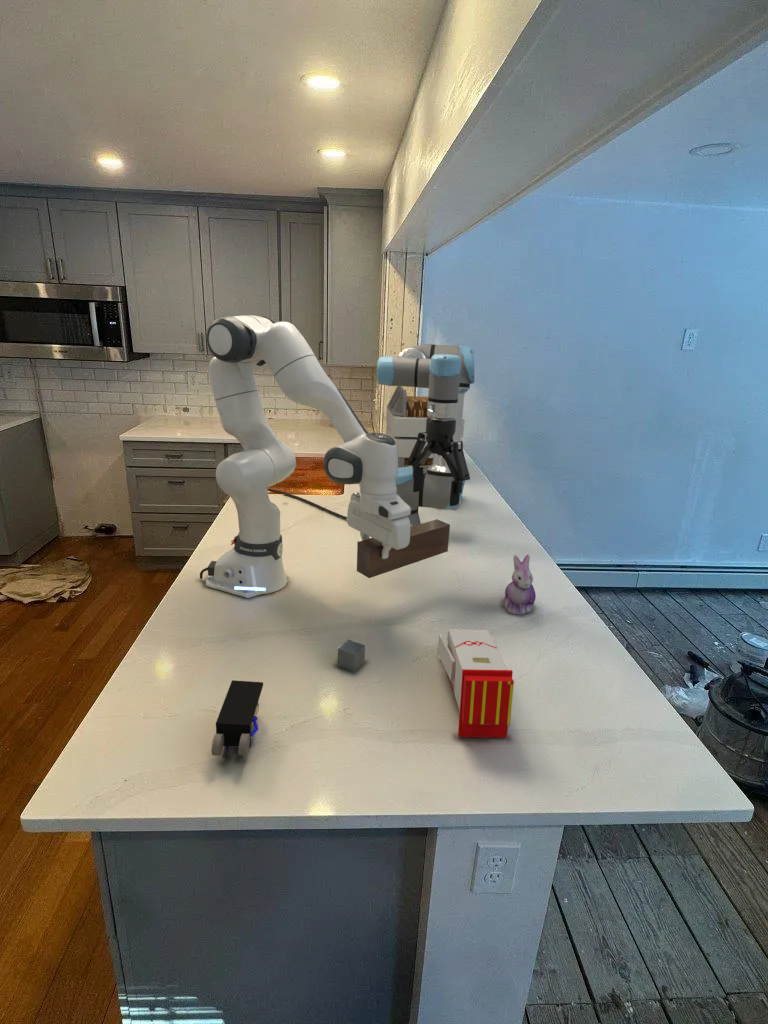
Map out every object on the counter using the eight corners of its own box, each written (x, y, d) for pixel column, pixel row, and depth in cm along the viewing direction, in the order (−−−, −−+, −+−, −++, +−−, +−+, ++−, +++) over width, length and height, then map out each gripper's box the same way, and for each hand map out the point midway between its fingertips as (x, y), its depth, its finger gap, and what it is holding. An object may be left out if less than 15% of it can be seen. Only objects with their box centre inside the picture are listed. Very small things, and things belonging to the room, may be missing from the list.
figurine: (518, 619, 147) (525, 567, 142) (493, 601, 156) (499, 551, 151) (545, 612, 151) (553, 561, 146) (520, 595, 160) (527, 546, 155)
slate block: (337, 665, 125) (337, 648, 124) (348, 656, 129) (348, 639, 127) (354, 672, 123) (354, 654, 122) (364, 662, 127) (365, 645, 125)
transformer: (382, 463, 289) (386, 382, 275) (445, 464, 293) (451, 384, 279) (390, 482, 257) (394, 392, 243) (460, 483, 261) (468, 394, 247)
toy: (488, 613, 130) (523, 677, 101) (484, 667, 133) (517, 744, 104) (435, 612, 130) (455, 676, 101) (432, 666, 133) (451, 743, 103)
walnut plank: (356, 571, 142) (357, 541, 140) (434, 545, 160) (436, 519, 157) (369, 578, 139) (370, 548, 136) (447, 551, 156) (450, 524, 154)
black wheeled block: (251, 773, 97) (266, 707, 110) (248, 742, 94) (264, 678, 107) (211, 773, 97) (231, 707, 110) (207, 741, 93) (228, 677, 107)
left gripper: (341, 492, 142) (340, 542, 147) (395, 515, 128) (392, 571, 132) (361, 487, 146) (359, 537, 151) (416, 510, 132) (412, 564, 136)
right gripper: (397, 411, 149) (393, 488, 157) (468, 428, 132) (460, 514, 139) (417, 409, 154) (413, 483, 161) (489, 425, 137) (480, 508, 144)
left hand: (375, 553), depth 141 cm, fingers closed on walnut plank, 5 cm apart
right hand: (435, 497), depth 150 cm, fingers open, 13 cm apart
